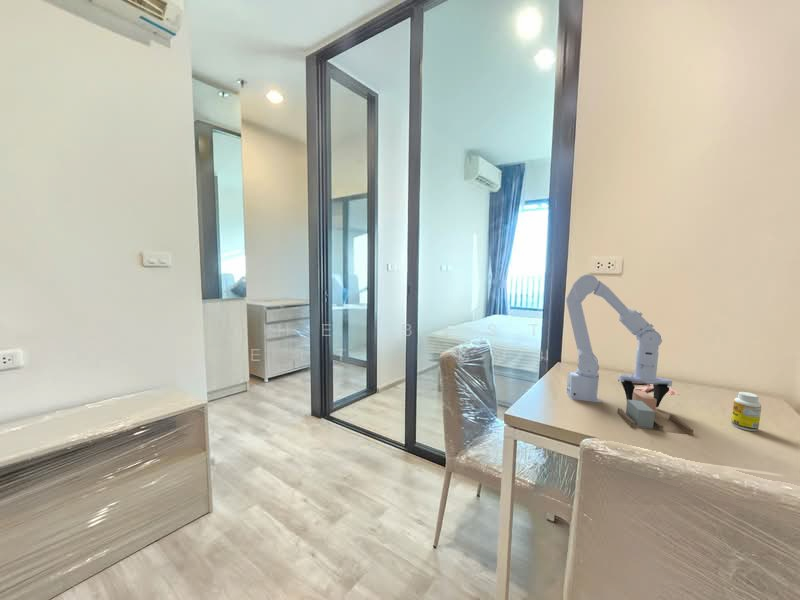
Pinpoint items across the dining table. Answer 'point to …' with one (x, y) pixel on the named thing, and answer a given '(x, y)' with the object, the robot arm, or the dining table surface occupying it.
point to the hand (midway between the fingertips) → (642, 404)
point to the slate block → (640, 413)
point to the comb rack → (661, 424)
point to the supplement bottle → (746, 411)
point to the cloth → (653, 388)
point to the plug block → (645, 399)
